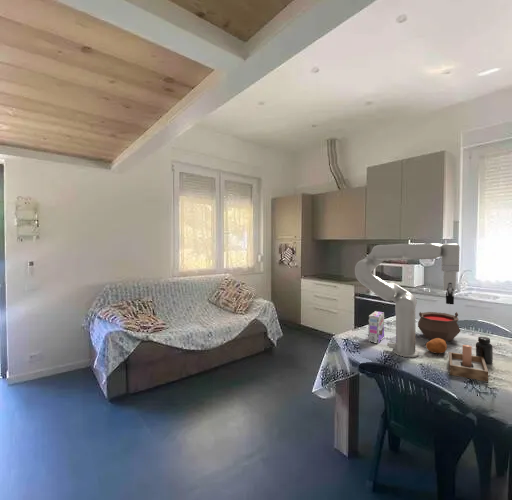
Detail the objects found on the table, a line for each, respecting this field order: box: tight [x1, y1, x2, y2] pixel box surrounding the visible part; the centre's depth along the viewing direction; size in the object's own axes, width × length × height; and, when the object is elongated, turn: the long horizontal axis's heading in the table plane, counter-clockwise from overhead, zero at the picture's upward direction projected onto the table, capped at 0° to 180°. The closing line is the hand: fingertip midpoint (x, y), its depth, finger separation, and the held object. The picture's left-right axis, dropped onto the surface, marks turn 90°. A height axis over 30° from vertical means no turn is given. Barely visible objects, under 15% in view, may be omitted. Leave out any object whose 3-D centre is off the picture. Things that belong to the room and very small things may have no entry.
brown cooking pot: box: [417, 311, 461, 343], centre depth 187 cm, size 24×24×16 cm
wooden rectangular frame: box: [448, 351, 489, 382], centre depth 143 cm, size 14×18×4 cm
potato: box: [425, 338, 448, 354], centre depth 165 cm, size 9×11×8 cm
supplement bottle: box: [475, 336, 494, 365], centre depth 152 cm, size 7×7×12 cm
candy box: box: [367, 310, 385, 344], centre depth 186 cm, size 14×6×16 cm, turn 143°
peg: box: [461, 344, 473, 367], centre depth 144 cm, size 4×4×11 cm
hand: (449, 302), depth 153 cm, fingers open, 9 cm apart
